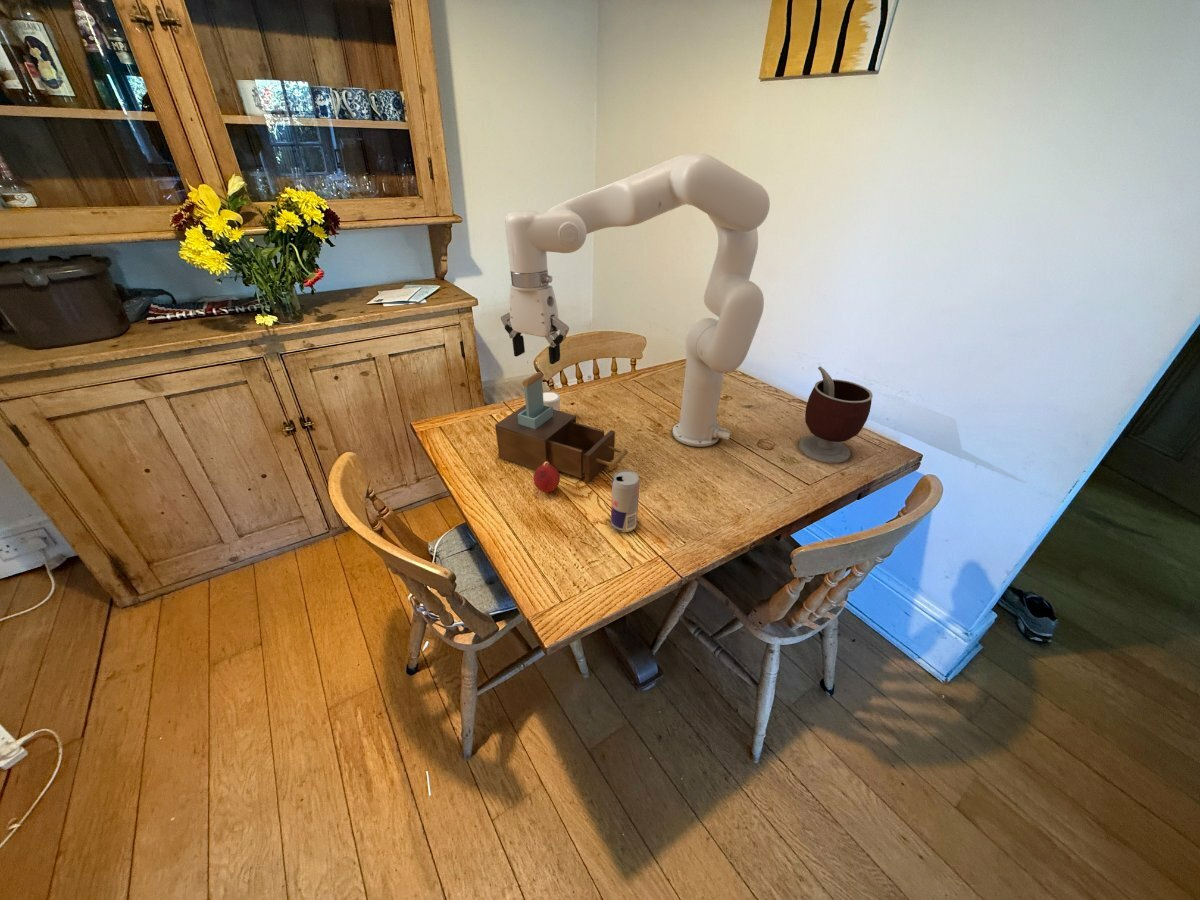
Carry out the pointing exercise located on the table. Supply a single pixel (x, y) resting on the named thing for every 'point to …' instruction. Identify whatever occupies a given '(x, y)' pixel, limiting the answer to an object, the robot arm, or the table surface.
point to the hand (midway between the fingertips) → (536, 358)
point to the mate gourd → (834, 418)
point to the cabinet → (528, 438)
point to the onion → (546, 477)
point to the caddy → (534, 403)
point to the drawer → (583, 451)
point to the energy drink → (625, 500)
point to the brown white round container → (552, 400)
